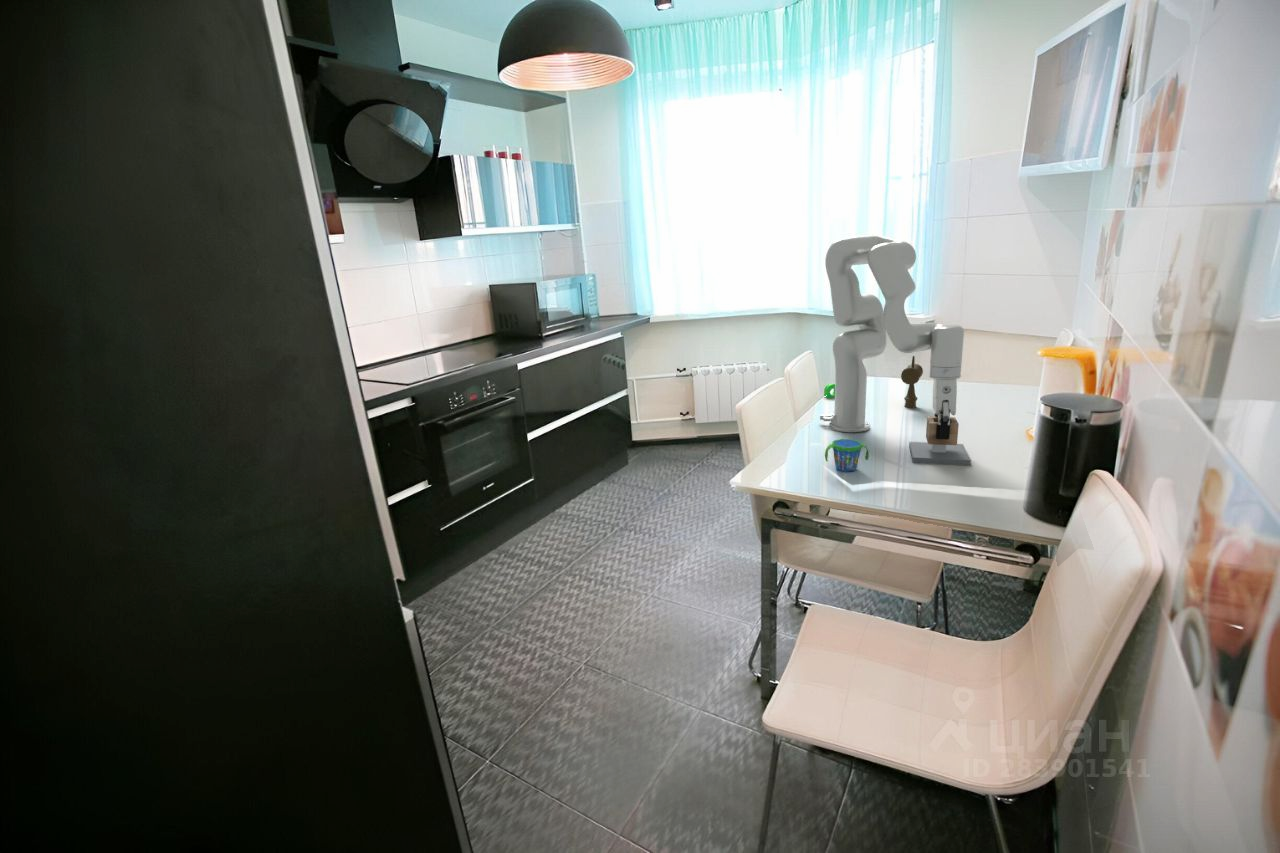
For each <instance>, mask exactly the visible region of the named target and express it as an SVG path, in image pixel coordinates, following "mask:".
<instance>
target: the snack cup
mask: <svg viewBox="0 0 1280 853" xmlns="http://www.w3.org/2000/svg"><path fill="white" fill-rule="evenodd" d="M863 447H864V448H865V451H866V452H865V456H864V459H865V460H866V461H868V460H869V457H870V456H869V455H870V453H869V452H870V451H869V449H868V447H867V446H866V445H865V444H864V443H862V442H861V441H859V440H856V439H849V438H841V439H839V438H838V439H836V440H833V441H832V443H831V444H829V445H828V446H827V447H826V449H825V451H824V458H825V462H828V458H829V457H828V455H829V450H830V449H832V450H833V460H834V466H835V469H836V470H838V471H841V472H845V473H846V472H854V471H855V470H857V468H858V465H859V459H860V455H861V452H862V449H863ZM855 472H856V471H855Z"/></svg>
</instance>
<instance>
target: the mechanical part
mask: <svg viewBox="0 0 1280 853" xmlns="http://www.w3.org/2000/svg"><path fill="white" fill-rule="evenodd" d="M832 390H833V391H832ZM831 391H832V393H831ZM826 395H827V396H826ZM824 396H826V397H825V398H826V399H829V398H835V383H832V382H831V383H828V384H826V385H825V386H824V390H823V397H824Z"/></svg>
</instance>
